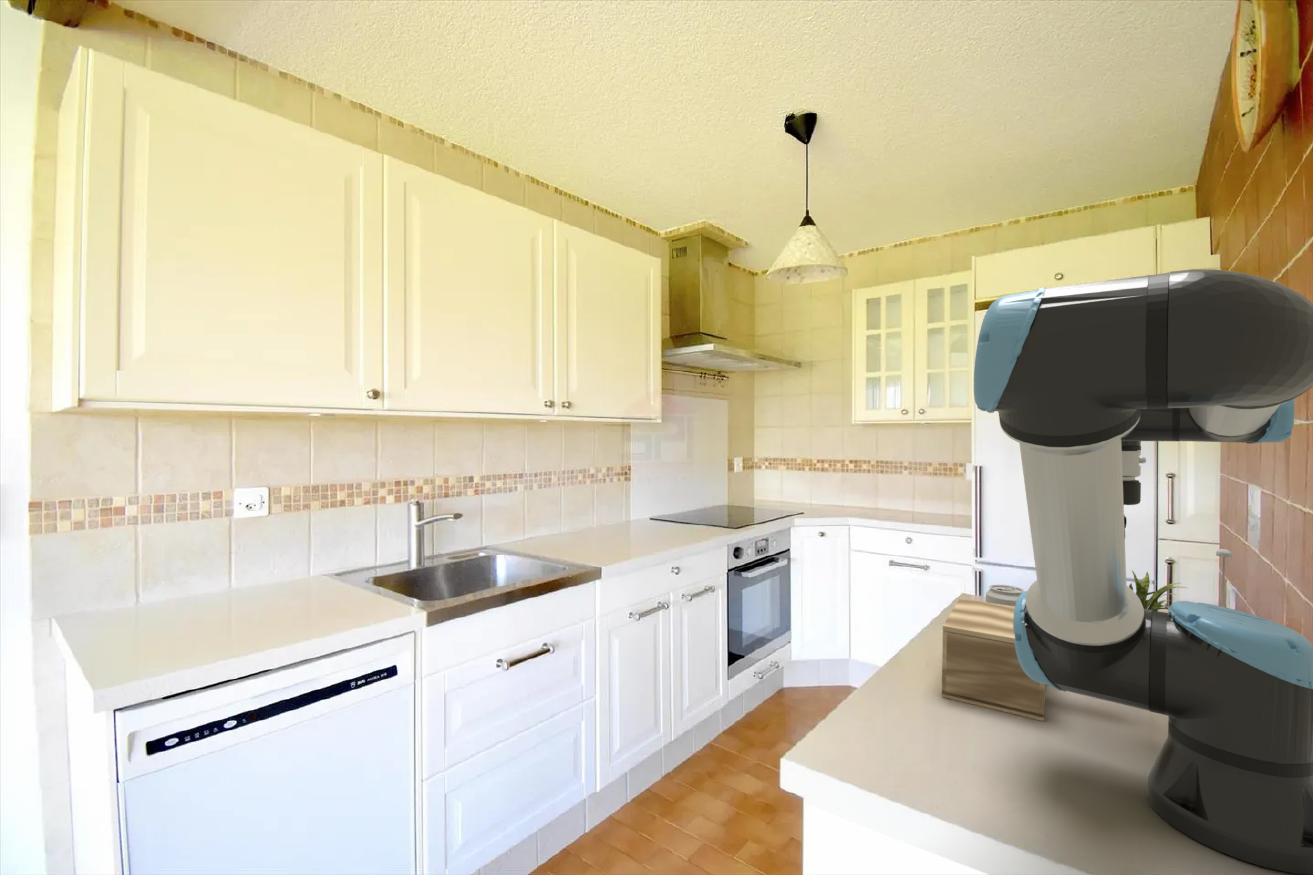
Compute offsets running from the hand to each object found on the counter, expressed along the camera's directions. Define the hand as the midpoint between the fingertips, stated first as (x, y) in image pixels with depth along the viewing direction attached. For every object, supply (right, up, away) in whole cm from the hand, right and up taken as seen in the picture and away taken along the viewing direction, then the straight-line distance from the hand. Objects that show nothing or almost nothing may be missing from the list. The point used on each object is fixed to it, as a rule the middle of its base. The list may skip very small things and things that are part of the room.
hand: (1107, 612), depth 92 cm
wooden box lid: (-8, -6, +5) cm, 12 cm away
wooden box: (-13, -15, +8) cm, 22 cm away
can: (+1, -15, +28) cm, 32 cm away
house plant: (+26, -16, +24) cm, 39 cm away
